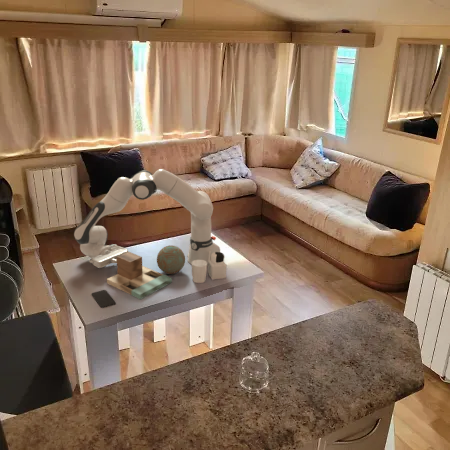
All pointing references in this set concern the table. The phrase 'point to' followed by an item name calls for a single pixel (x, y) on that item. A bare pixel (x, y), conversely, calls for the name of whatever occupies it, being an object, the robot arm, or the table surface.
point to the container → (217, 266)
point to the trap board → (140, 283)
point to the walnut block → (129, 265)
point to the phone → (103, 298)
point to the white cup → (199, 271)
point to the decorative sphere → (170, 259)
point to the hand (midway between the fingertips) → (120, 261)
